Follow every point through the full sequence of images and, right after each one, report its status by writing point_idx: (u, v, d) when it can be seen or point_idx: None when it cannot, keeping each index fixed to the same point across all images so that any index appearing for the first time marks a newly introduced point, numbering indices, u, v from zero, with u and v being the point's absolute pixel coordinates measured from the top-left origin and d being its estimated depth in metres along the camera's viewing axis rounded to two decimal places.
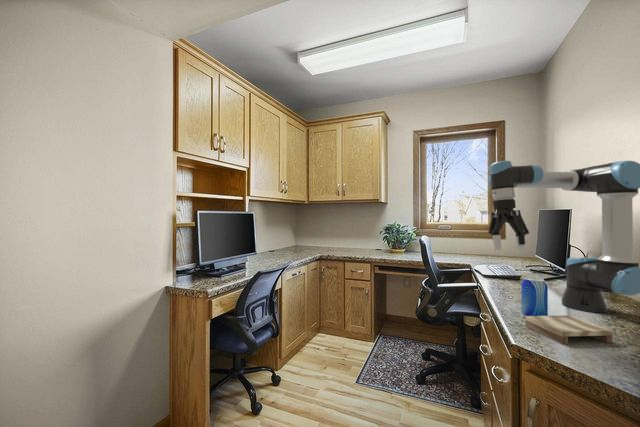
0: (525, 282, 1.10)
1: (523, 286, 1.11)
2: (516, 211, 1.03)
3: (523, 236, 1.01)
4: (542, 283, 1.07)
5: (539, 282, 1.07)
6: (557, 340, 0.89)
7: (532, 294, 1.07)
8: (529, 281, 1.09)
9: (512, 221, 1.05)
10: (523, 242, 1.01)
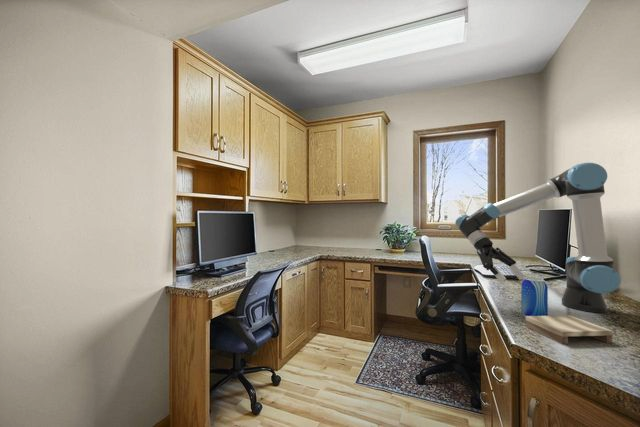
0: (525, 282, 1.10)
1: (523, 286, 1.11)
2: (478, 251, 1.25)
3: (491, 267, 1.18)
4: (542, 283, 1.07)
5: (539, 282, 1.07)
6: (557, 340, 0.89)
7: (532, 294, 1.07)
8: (529, 281, 1.09)
9: (487, 257, 1.24)
10: (494, 272, 1.16)
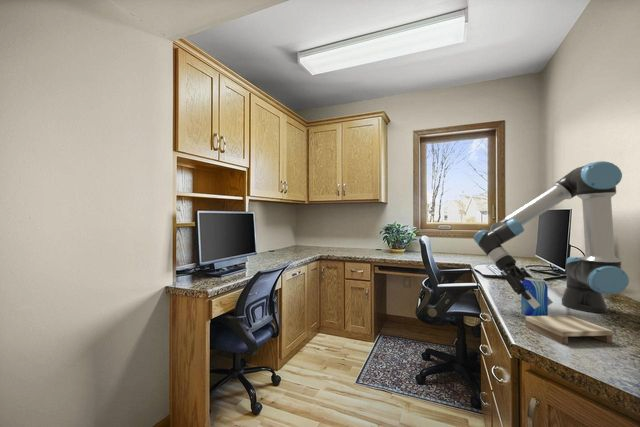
0: (525, 282, 1.10)
1: (523, 286, 1.11)
2: (502, 272, 1.15)
3: (522, 292, 1.09)
4: (542, 283, 1.07)
5: (539, 282, 1.07)
6: (557, 340, 0.89)
7: (532, 294, 1.07)
8: (529, 281, 1.09)
9: None
10: (527, 297, 1.07)
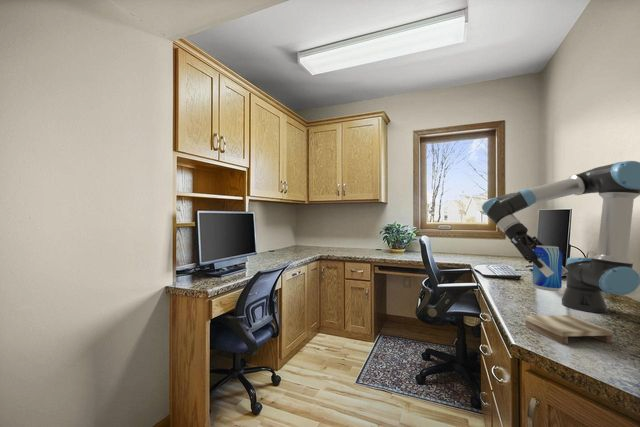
0: (537, 249, 1.02)
1: None
2: (513, 240, 1.07)
3: (534, 260, 1.01)
4: (556, 250, 0.99)
5: (552, 249, 0.99)
6: (557, 340, 0.89)
7: (545, 262, 0.99)
8: (542, 248, 1.01)
9: None
10: (539, 265, 0.99)
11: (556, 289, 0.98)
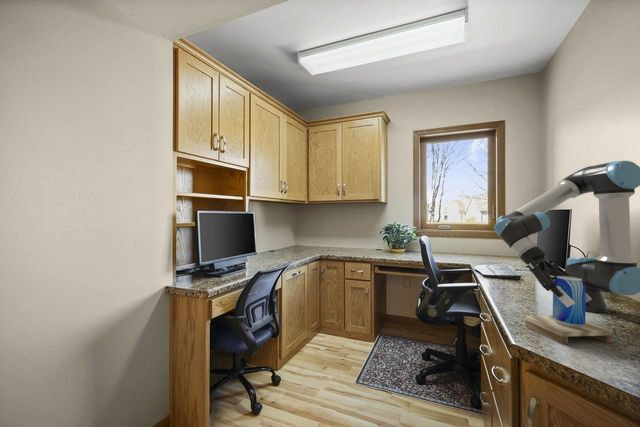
0: (558, 281, 0.94)
1: None
2: (529, 265, 1.00)
3: (553, 288, 0.93)
4: (579, 283, 0.91)
5: (576, 282, 0.91)
6: (557, 340, 0.89)
7: (568, 295, 0.91)
8: (563, 280, 0.93)
9: None
10: (558, 294, 0.91)
11: (580, 325, 0.91)
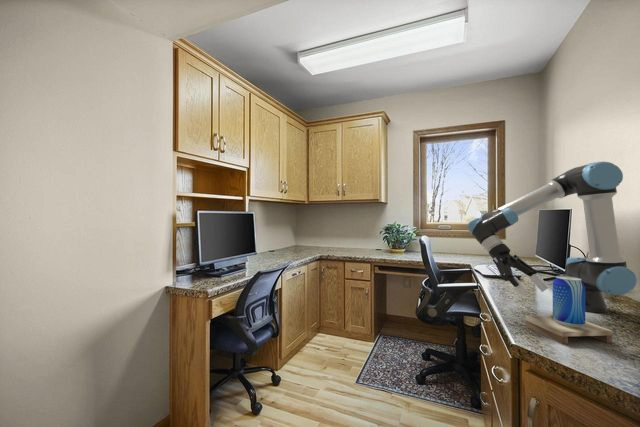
0: (558, 281, 0.95)
1: (555, 286, 0.95)
2: (494, 259, 1.11)
3: (510, 278, 1.04)
4: (579, 282, 0.91)
5: (575, 282, 0.91)
6: (557, 340, 0.89)
7: (567, 295, 0.92)
8: (563, 280, 0.93)
9: (504, 266, 1.10)
10: (514, 284, 1.03)
11: (580, 325, 0.91)
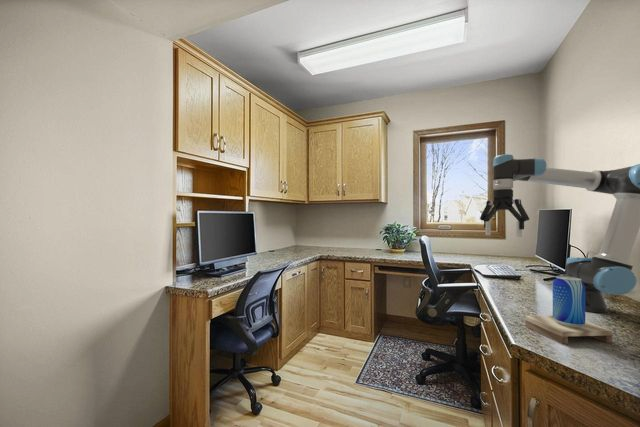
0: (558, 281, 0.95)
1: (555, 286, 0.95)
2: (518, 200, 1.16)
3: (523, 222, 1.15)
4: (579, 282, 0.91)
5: (575, 282, 0.91)
6: (557, 340, 0.89)
7: (567, 295, 0.92)
8: (563, 280, 0.93)
9: (512, 209, 1.19)
10: (523, 227, 1.15)
11: (580, 325, 0.91)
